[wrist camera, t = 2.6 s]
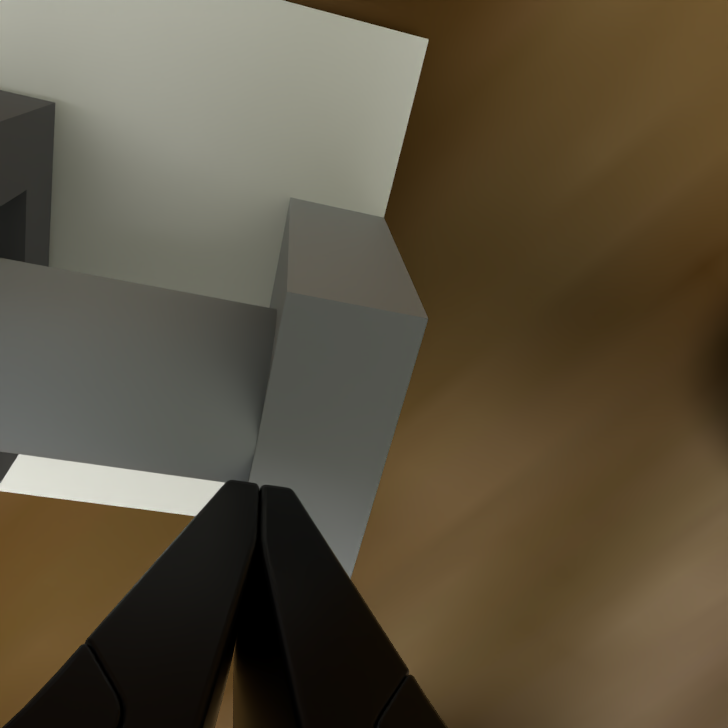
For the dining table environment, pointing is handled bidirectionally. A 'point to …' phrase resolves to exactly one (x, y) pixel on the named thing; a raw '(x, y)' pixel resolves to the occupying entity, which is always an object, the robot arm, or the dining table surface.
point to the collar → (25, 187)
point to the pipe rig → (210, 257)
